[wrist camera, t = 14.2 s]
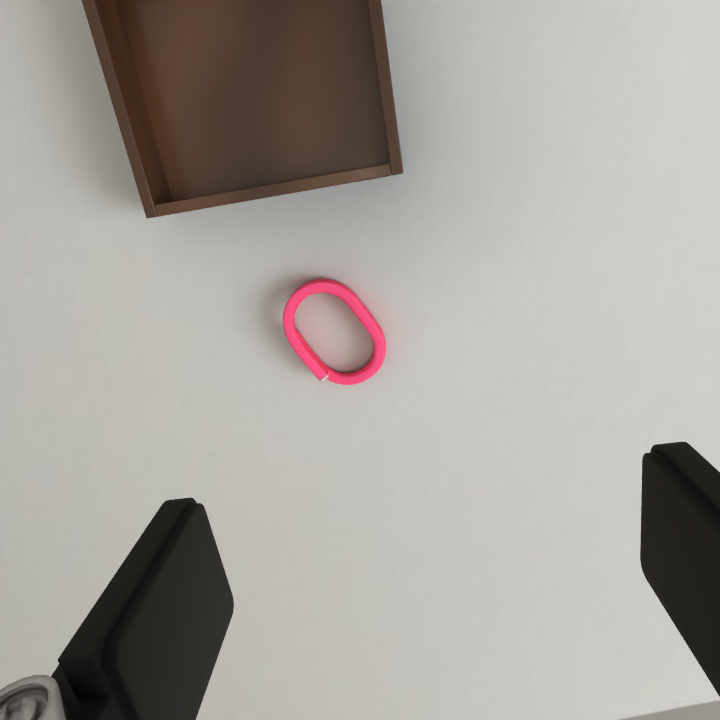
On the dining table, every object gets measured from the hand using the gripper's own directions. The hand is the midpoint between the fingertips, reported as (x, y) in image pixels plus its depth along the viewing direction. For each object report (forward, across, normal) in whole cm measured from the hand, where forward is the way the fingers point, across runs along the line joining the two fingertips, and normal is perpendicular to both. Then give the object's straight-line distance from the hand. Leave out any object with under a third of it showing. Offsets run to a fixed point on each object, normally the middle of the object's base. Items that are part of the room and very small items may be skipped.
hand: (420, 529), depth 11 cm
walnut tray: (+26, +7, -14) cm, 30 cm away
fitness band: (+26, +5, +3) cm, 27 cm away
